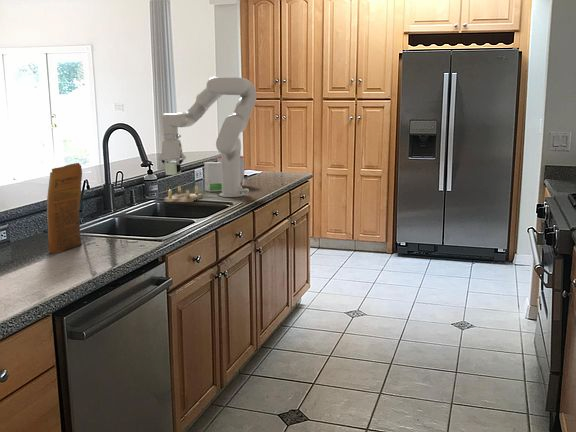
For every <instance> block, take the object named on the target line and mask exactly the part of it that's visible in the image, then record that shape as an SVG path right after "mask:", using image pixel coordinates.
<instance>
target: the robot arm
mask: <svg viewBox="0 0 576 432" xmlns="http://www.w3.org/2000/svg"><path fill="white" fill-rule="evenodd" d="M256 90H257V89H256V87H255V85H254V84H253V83H252V81H250V80H249V79H248V78H245V77H244V78H243V77H238V76H237V77H235V76H234V77H233V76H232V77H231V76H230V77H229V76H224V77H223V76H212V77H210V78H209V79H208V80H207V82H206V86H205V87H204V88H203V89H202V90H201V91H200V92H199V93H197V95H196V97H195V102H194V103H193V104H192V106H190V108H189V109H188V110H186V111H184V112H177V113H173V112H172V113H171V112H169V113H163V114H162V116H161V121H162V137H163V140H162V141H161V154H160V155H159V157H158V160H159V161H160V162H161V163H163V164H164V166H165V163H168V162H170V160H175V161H176V162H177V173H178V174H180V173H179V172H180V171H181V172H182V169H181V168H182V167H181V166H182V163H183V162H184V161H185V160H186V159H187V157H186V155H185V154H184V153H183V147H182V142H181V139H180V138H181V137H182V135H181V134H179V130H178V128H188V127H192V126H193V125H195V123H197V122H198V121H199V120H200V119H201V118H202V117H203V115H205V113H206V112H207V111H208V110H209V108H210V107H211V106H212V105H213V104H214V103H216V102H217V100H219V99H220V98H221V97H222V96H223V95H225V96H239V99H238V101H237V102H236V106H235V107H234V111H233V113H232V114H229V115H228V116H227V117H226V118H224V121H223V122H222V125H221V128H220V131H219V133H218V136H217V138H216V140H215V141H216V142H215V147H216V149H217V151H218V153H220V154H221V156H222V160H221V163H222V191H221V192H219V194H218V196H220V197H223V198H236V197H237V198H238V197H243V196H244V194H247V193H249V191H250V190H249V188H243V186H242V185H241V184H240V156H241V149H242V144H241V139H240V138H239V135H240V134H241V133H243V132H244V131H245V130H246V128H247V126H248V123H249V120H250V118H251V115H252V112H253V109H254V108H255V105H256V103H257V101H256V100H257V91H256Z"/></svg>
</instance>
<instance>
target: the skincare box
mask: <svg viewBox="0 0 576 432" xmlns="http://www.w3.org/2000/svg"><path fill="white" fill-rule="evenodd" d="M203 163H204V191H206V192H209V193H210V192H222V163H221V162H218V161H204V162H203Z"/></svg>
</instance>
